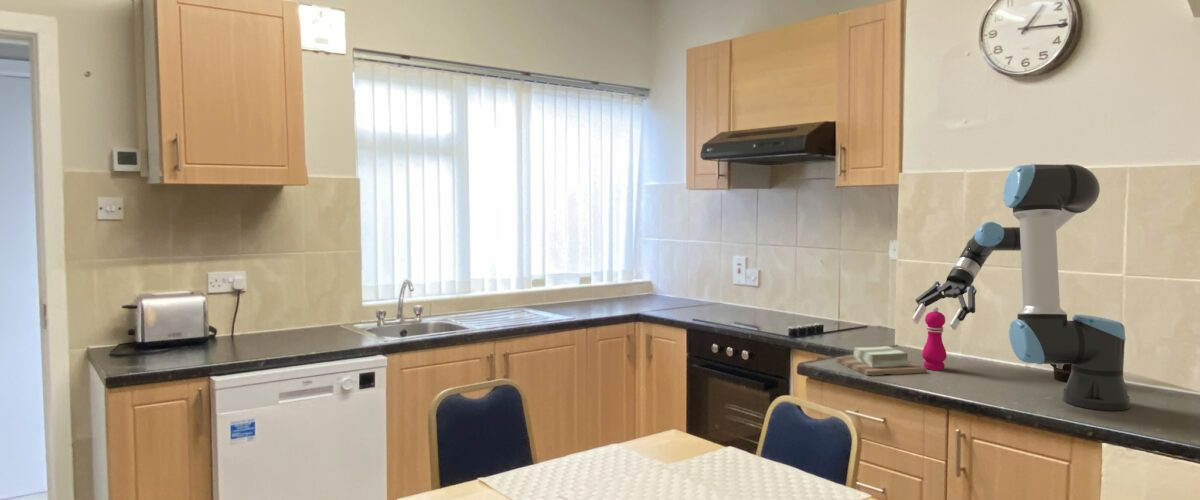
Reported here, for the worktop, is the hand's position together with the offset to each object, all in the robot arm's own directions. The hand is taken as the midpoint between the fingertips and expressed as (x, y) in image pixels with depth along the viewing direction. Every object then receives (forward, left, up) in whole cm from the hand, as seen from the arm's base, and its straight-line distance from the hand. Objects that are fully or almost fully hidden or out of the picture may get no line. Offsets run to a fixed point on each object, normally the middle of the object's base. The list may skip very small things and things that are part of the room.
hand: (933, 324), depth 244 cm
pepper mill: (0, 0, -15) cm, 15 cm away
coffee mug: (-20, -30, -15) cm, 39 cm away
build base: (+5, +16, -14) cm, 22 cm away
